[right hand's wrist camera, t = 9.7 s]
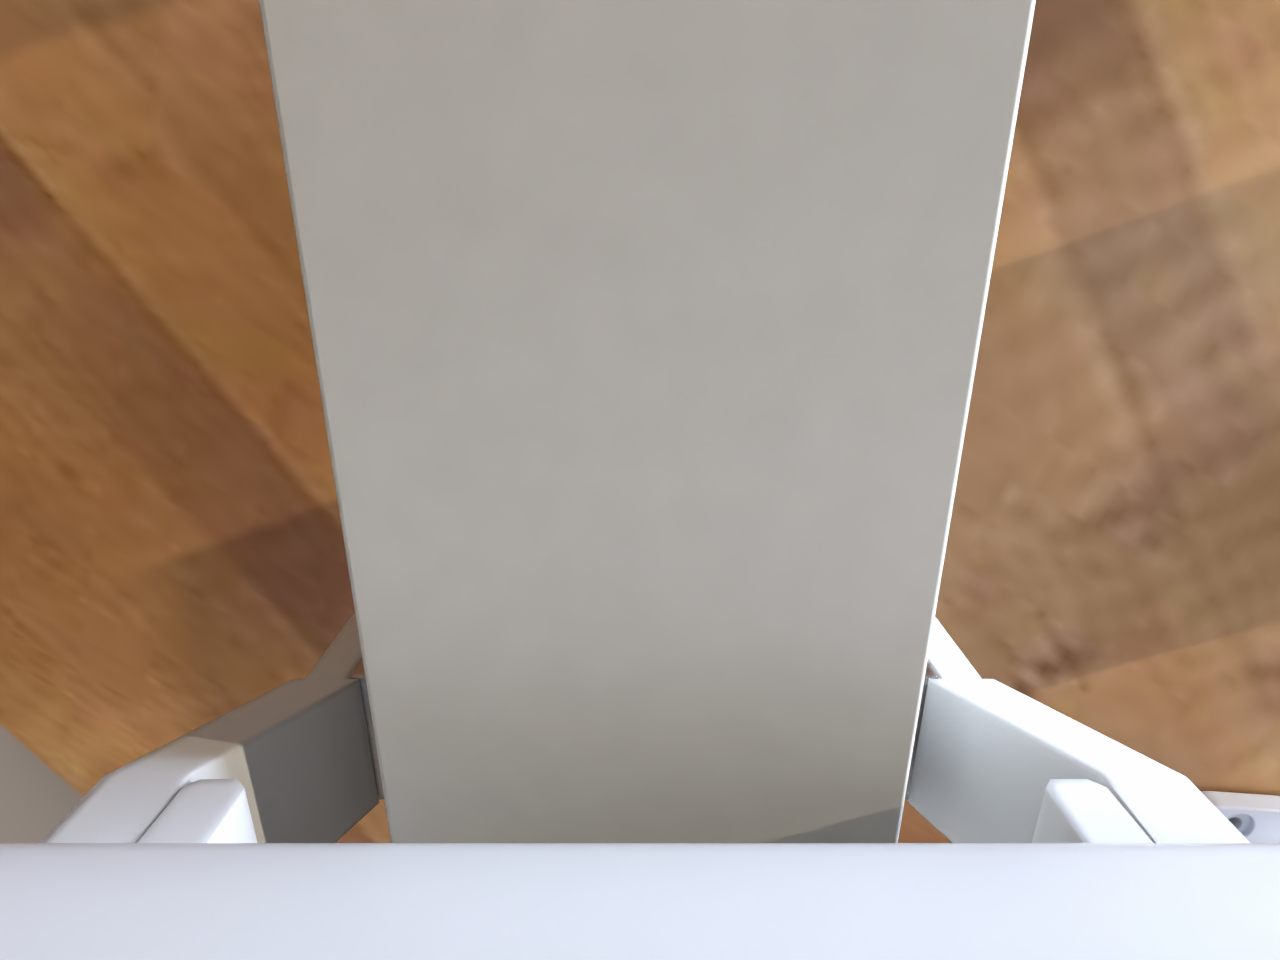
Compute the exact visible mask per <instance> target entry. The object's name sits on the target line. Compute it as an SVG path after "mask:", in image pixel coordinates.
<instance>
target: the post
mask: <svg viewBox="0 0 1280 960" xmlns="http://www.w3.org/2000/svg"><path fill="white" fill-rule="evenodd" d="M1035 2H1036V0H259V4H260V10H261V17H262V23H263V30H264V36H265V42H266V49H267V55H268V61H269V68H270V74H271V80H272V87H273V93H274V99H275V106H276V112H277V118H278V125H279V131H280V138H281V144H282V150H283V157H284V163H285V169H286V176H287V182H288V188H289V195H290V201H291V207H292V214H293V220H294V227H295V233H296V239H297V246H298V252H299V258H300V265H301V271H302V277H303V284H304V290H305V296H306V303H307V309H308V315H309V322H310V328H311V335H312V341H313V347H314V354H315V360H316V366H317V373H318V379H319V385H320V392H321V398H322V404H323V411H324V417H325V424H326V430H327V436H328V443H329V449H330V455H331V462H332V468H333V474H334V481H335V487H336V493H337V500H338V506H339V512H340V519H341V525H342V532H343V538H344V544H345V551H346V557H347V563H348V570H349V576H350V582H351V589H352V595H353V601H354V608H355V614H356V621H357V627H358V633H359V640H360V646H361V652H362V659H363V665H364V671H365V678H366V684H367V690H368V697H369V703H370V709H371V716H372V722H373V729H374V735H375V741H376V748H377V754H378V760H379V767H380V773H381V779H382V786H383V792H384V798H385V805H386V811H387V818H388V824H389V830H390V837H391V843H898V838H899V831H900V825H901V819H902V813H903V807H904V801H905V795H906V789H907V783H908V777H909V771H910V764H911V758H912V752H913V746H914V740H915V734H916V728H917V722H918V716H919V710H920V703H921V697H922V691H923V685H924V679H925V673H926V667H927V661H928V655H929V649H930V642H931V636H932V630H933V624H934V618H935V612H936V606H937V600H938V594H939V588H940V582H941V575H942V569H943V563H944V557H945V551H946V545H947V539H948V533H949V527H950V521H951V514H952V508H953V502H954V496H955V490H956V484H957V478H958V472H959V466H960V460H961V454H962V447H963V441H964V435H965V429H966V423H967V417H968V411H969V405H970V399H971V393H972V386H973V380H974V374H975V368H976V362H977V356H978V350H979V344H980V338H981V332H982V326H983V319H984V313H985V307H986V301H987V295H988V289H989V283H990V277H991V271H992V265H993V258H994V252H995V246H996V240H997V234H998V228H999V222H1000V216H1001V210H1002V204H1003V197H1004V191H1005V185H1006V179H1007V173H1008V167H1009V161H1010V155H1011V149H1012V143H1013V137H1014V130H1015V124H1016V118H1017V112H1018V106H1019V100H1020V94H1021V88H1022V82H1023V76H1024V69H1025V63H1026V57H1027V51H1028V45H1029V39H1030V33H1031V27H1032V21H1033V15H1034V9H1035Z"/></svg>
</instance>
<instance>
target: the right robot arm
mask: <svg viewBox="0 0 1280 960" xmlns="http://www.w3.org/2000/svg"><path fill="white" fill-rule="evenodd" d="M378 799H385V798H384V792H383V786H382V779H381V773H380V767H379V760H378V754H377V748H376V741H375V735H374V729H373V722H372V716H371V709H370V703H369V697H368V690H367V684H366V678H365V671H364V665H363V659H362V652H361V646H360V640H359V633H358V627H357V621H356V614H353V615H352V616H351V617H350V618H349V620H348V621H347V622H346V624H345V625H344V627H343V628H342V629H341V631H340V632H339V633H338V635H337V636H336V637H335V639H334V640H333V642H332V643H331V644H330V646H329V647H328V648H327V650H326V651H325V653H324V654H323V655H322V657H321V658H320V659H319V661H318V662H317V663H316V665H315V666H314V668H313V669H312V670H311V672H310V673H309V674H308V676H307V677H306V679H293V680H291V681H289V682H287V683H285V684H283V685H281V686H279V687H277V688H275V689H273V690H271V691H269V692H267V693H265V694H264V695H262V696H260V697H258V698H256V699H254V700H252V701H250V702H248V703H246V704H244V705H242V706H240V707H238V708H236V709H234V710H232V711H230V712H228V713H226V714H224V715H222V716H220V717H218V718H217V719H215V720H213V721H211V722H209V723H207V724H205V725H203V726H201V727H199V728H197V729H195V730H193V731H191V732H189V733H187V734H185V735H183V736H181V737H179V738H177V739H175V740H173V741H171V742H170V743H168V744H166V745H164V746H162V747H160V748H158V749H156V750H154V751H152V752H150V753H148V754H146V755H144V756H142V757H140V758H138V759H136V760H134V761H132V762H130V763H128V764H126V765H125V766H123V767H121V768H119V769H117V770H115V771H113V772H111V773H109V774H107V775H105V776H104V777H103V778H102V779H101V780H100V781H99V782H98V783H97V784H96V785H95V786H94V787H93V788H92V789H91V790H90V791H89V792H88V793H87V794H86V795H85V796H84V797H83V798H82V799H81V800H80V802H79V803H78V804H77V805H76V806H75V807H74V808H73V809H72V810H71V811H70V812H69V813H68V814H67V815H66V816H65V817H64V818H63V819H62V820H61V821H60V822H59V823H58V824H57V825H56V826H55V827H54V829H53V830H52V831H51V832H50V833H49V834H48V835H47V836H46V837H45V838H44V839H43V840H42V841H41V842H40V843H0V960H1280V796H1275V795H1261V794H1247V793H1232V792H1218V791H1200V790H1199V789H1198V788H1197V787H1196V786H1195V785H1194V784H1193V783H1192V782H1191V781H1190V780H1189V779H1188V778H1187V777H1185V776H1184V775H1182V774H1180V773H1178V772H1176V771H1174V770H1172V769H1170V768H1168V767H1166V766H1164V765H1162V764H1160V763H1158V762H1156V761H1154V760H1152V759H1150V758H1148V757H1146V756H1144V755H1142V754H1140V753H1138V752H1136V751H1134V750H1132V749H1130V748H1128V747H1126V746H1124V745H1122V744H1120V743H1119V742H1117V741H1115V740H1113V739H1111V738H1109V737H1107V736H1105V735H1103V734H1101V733H1099V732H1097V731H1095V730H1093V729H1091V728H1089V727H1087V726H1085V725H1083V724H1081V723H1079V722H1077V721H1075V720H1073V719H1071V718H1069V717H1067V716H1065V715H1063V714H1061V713H1059V712H1057V711H1055V710H1054V709H1052V708H1050V707H1048V706H1046V705H1044V704H1042V703H1040V702H1038V701H1036V700H1034V699H1032V698H1030V697H1028V696H1026V695H1024V694H1022V693H1020V692H1018V691H1016V690H1014V689H1012V688H1010V687H1008V686H1006V685H1004V684H1002V683H1000V682H998V681H996V680H994V679H982V678H981V677H980V676H979V674H978V673H977V672H976V670H975V669H974V668H973V666H972V665H971V664H970V662H969V661H968V660H967V658H966V657H965V656H964V654H963V653H962V652H961V650H960V649H959V648H958V646H957V645H956V644H955V642H954V641H953V640H952V638H951V637H950V636H949V634H948V633H947V632H946V630H945V629H944V628H943V626H942V625H941V624H940V622H939V621H938V620H937V618H936V617H935V618H934V624H933V630H932V636H931V642H930V649H929V655H928V661H927V667H926V673H925V679H924V685H923V691H922V697H921V703H920V710H919V716H918V722H917V728H916V734H915V740H914V746H913V752H912V758H911V764H910V771H909V777H908V783H907V789H906V795H905V799H908V803H909V804H910V805H911V806H913V807H914V808H915V809H916V810H917V811H918V812H919V813H920V814H921V815H922V816H924V817H925V818H926V819H927V820H928V821H929V822H930V823H931V824H932V825H933V826H935V827H936V828H937V829H938V830H939V831H940V832H941V833H942V834H943V835H945V836H946V837H947V838H948V839H949V840H950V841H951V842H952V843H335V842H336V841H337V840H339V839H340V838H341V837H342V836H343V835H344V834H345V833H346V832H347V831H348V830H350V829H351V828H352V827H353V826H354V825H355V824H356V823H357V822H358V821H359V820H360V819H362V818H363V817H364V816H365V815H366V814H367V813H368V812H369V811H370V810H371V809H372V808H374V807H375V806H376V805H377V804H378V803H379V801H378Z"/></svg>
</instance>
